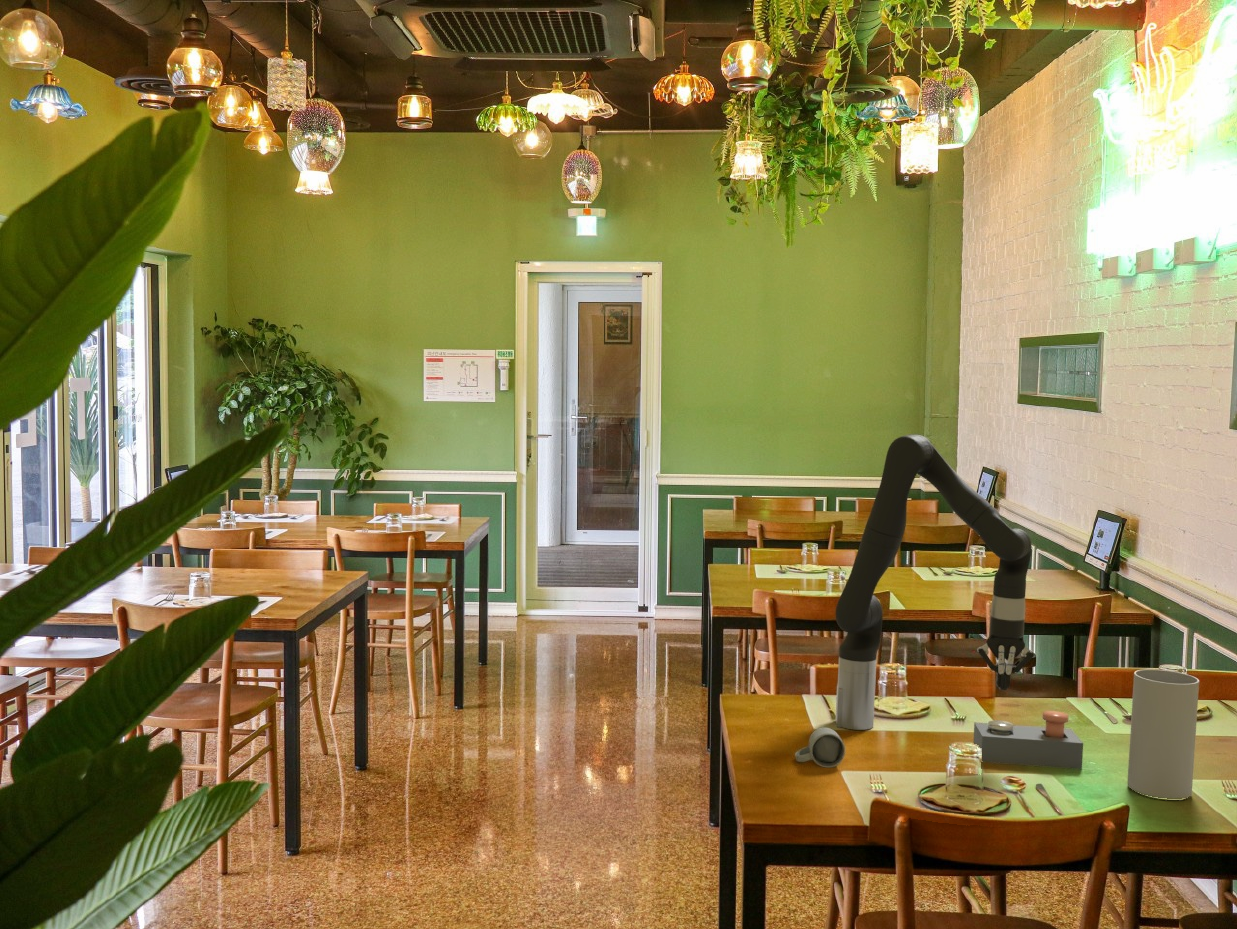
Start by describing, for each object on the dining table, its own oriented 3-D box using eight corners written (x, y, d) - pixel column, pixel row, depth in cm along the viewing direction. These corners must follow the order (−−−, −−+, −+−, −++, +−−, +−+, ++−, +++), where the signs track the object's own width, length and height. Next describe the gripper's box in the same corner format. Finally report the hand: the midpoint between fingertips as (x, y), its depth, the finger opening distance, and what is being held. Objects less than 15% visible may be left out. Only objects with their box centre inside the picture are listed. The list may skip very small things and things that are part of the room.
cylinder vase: (1114, 785, 249) (1121, 671, 247) (1156, 778, 254) (1163, 667, 252) (1161, 805, 237) (1169, 686, 235) (1205, 798, 242) (1212, 681, 240)
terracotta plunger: (1044, 743, 262) (1045, 717, 262) (1038, 736, 268) (1040, 710, 267) (1069, 745, 261) (1071, 718, 261) (1063, 738, 267) (1065, 711, 266)
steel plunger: (989, 752, 264) (990, 726, 263) (984, 745, 269) (986, 719, 269) (1014, 754, 263) (1015, 728, 263) (1009, 747, 269) (1011, 721, 268)
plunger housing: (981, 762, 262) (982, 736, 261) (973, 747, 272) (974, 722, 272) (1081, 769, 259) (1083, 743, 258) (1069, 754, 269) (1071, 728, 269)
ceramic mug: (839, 756, 262) (840, 723, 262) (845, 768, 254) (845, 734, 254) (792, 755, 263) (793, 723, 262) (797, 767, 255) (797, 733, 254)
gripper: (980, 616, 261) (975, 691, 263) (1041, 621, 259) (1035, 696, 261) (975, 610, 269) (970, 682, 270) (1033, 614, 267) (1028, 687, 268)
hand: (1002, 689), depth 265 cm, fingers closed
